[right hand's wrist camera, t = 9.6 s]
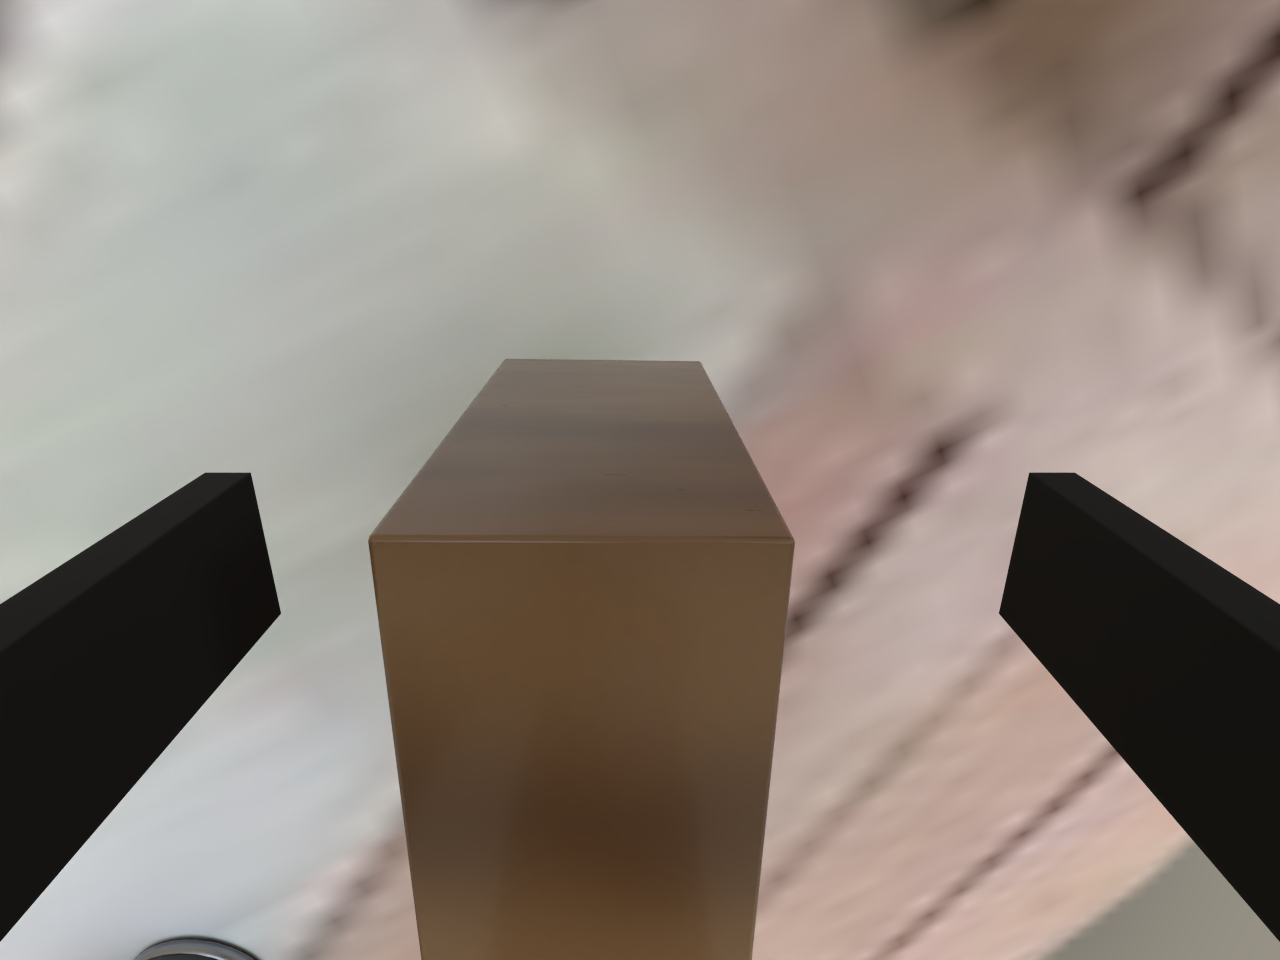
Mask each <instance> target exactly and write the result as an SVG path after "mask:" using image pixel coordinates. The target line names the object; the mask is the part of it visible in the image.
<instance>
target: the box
mask: <svg viewBox="0 0 1280 960" xmlns="http://www.w3.org/2000/svg"><path fill="white" fill-rule="evenodd" d="M368 542H369V550H370V558H371V566H372V574H373V581H374V589H375V597H376V605H377V613H378V621H379V629H380V637H381V644H382V652H383V660H384V668H385V676H386V684H387V692H388V699H389V707H390V715H391V723H392V731H393V739H394V747H395V755H396V762H397V770H398V778H399V786H400V794H401V802H402V810H403V817H404V825H405V833H406V841H407V849H408V857H409V865H410V873H411V880H412V888H413V896H414V904H415V912H416V920H417V928H418V935H419V943H420V951H421V959H422V960H752V951H753V941H754V932H755V922H756V912H757V903H758V893H759V884H760V874H761V864H762V855H763V845H764V835H765V826H766V816H767V806H768V797H769V787H770V777H771V768H772V758H773V749H774V739H775V729H776V720H777V710H778V700H779V691H780V681H781V671H782V662H783V652H784V642H785V633H786V623H787V614H788V604H789V594H790V585H791V575H792V565H793V556H794V546H795V542H794V539H793V537H792V535H791V533H790V531H789V529H788V527H787V525H786V523H785V521H784V520H783V518H782V516H781V514H780V512H779V510H778V508H777V506H776V504H775V503H774V501H773V499H772V497H771V495H770V493H769V491H768V489H767V487H766V485H765V484H764V482H763V480H762V478H761V476H760V474H759V472H758V470H757V468H756V466H755V465H754V463H753V461H752V459H751V457H750V455H749V453H748V451H747V449H746V448H745V446H744V444H743V442H742V440H741V438H740V436H739V434H738V432H737V430H736V429H735V427H734V425H733V423H732V421H731V419H730V417H729V415H728V413H727V411H726V410H725V408H724V406H723V404H722V402H721V400H720V398H719V396H718V394H717V393H716V391H715V389H714V387H713V385H712V383H711V381H710V379H709V377H708V375H707V374H706V372H705V370H704V368H703V366H702V364H701V362H699V361H626V360H547V359H506V360H504V361H503V363H502V364H501V365H500V367H499V368H498V369H497V371H496V372H495V373H494V375H493V376H492V377H491V378H490V380H489V381H488V382H487V384H486V385H485V386H484V388H483V389H482V390H481V391H480V393H479V394H478V395H477V397H476V398H475V399H474V401H473V402H472V403H471V405H470V406H469V407H468V408H467V410H466V411H465V412H464V414H463V415H462V416H461V418H460V419H459V420H458V422H457V423H456V424H455V425H454V427H453V428H452V429H451V431H450V432H449V433H448V435H447V436H446V437H445V438H444V440H443V441H442V442H441V444H440V445H439V446H438V448H437V449H436V450H435V452H434V453H433V454H432V455H431V457H430V458H429V459H428V461H427V462H426V463H425V465H424V466H423V467H422V469H421V470H420V471H419V472H418V474H417V475H416V476H415V478H414V479H413V480H412V482H411V483H410V484H409V485H408V487H407V488H406V489H405V491H404V492H403V493H402V495H401V496H400V497H399V499H398V500H397V501H396V502H395V504H394V505H393V506H392V508H391V509H390V510H389V512H388V513H387V514H386V516H385V517H384V518H383V519H382V521H381V522H380V523H379V525H378V526H377V527H376V529H375V530H374V531H373V532H372V534H371V535H370V537H369V540H368Z"/></svg>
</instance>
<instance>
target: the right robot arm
mask: <svg viewBox="0 0 1280 960" xmlns="http://www.w3.org/2000/svg"><path fill="white" fill-rule="evenodd" d="M280 614H281V611H280V607H279V602H278V597H277V593H276V588H275V583H274V579H273V574H272V569H271V565H270V560H269V556H268V551H267V546H266V542H265V537H264V532H263V528H262V523H261V518H260V514H259V509H258V504H257V500H256V495H255V491H254V486H253V481H252V477H251V473H204V474H203V475H201V476H199V477H198V478H196V479H195V480H193V481H192V482H190V483H189V484H187V485H185V486H184V487H182V488H181V489H179V490H178V491H176V492H175V493H173V494H171V495H170V496H168V497H167V498H165V499H164V500H162V501H160V502H159V503H157V504H156V505H154V506H153V507H151V508H150V509H148V510H146V511H145V512H143V513H142V514H140V515H139V516H137V517H136V518H134V519H132V520H131V521H129V522H128V523H126V524H125V525H123V526H122V527H120V528H118V529H117V530H115V531H114V532H112V533H111V534H109V535H108V536H106V537H104V538H103V539H101V540H100V541H98V542H97V543H95V544H94V545H92V546H90V547H89V548H87V549H86V550H84V551H83V552H81V553H80V554H78V555H76V556H75V557H73V558H72V559H70V560H69V561H67V562H65V563H64V564H62V565H61V566H59V567H58V568H56V569H55V570H53V571H51V572H50V573H48V574H47V575H45V576H44V577H42V578H41V579H39V580H37V581H36V582H34V583H33V584H31V585H30V586H28V587H27V588H25V589H23V590H22V591H20V592H19V593H17V594H16V595H14V596H13V597H11V598H9V599H8V600H6V601H5V602H3V603H2V604H0V941H1V940H2V939H3V938H4V937H5V936H6V934H7V933H8V932H9V931H10V930H11V929H12V927H13V926H14V925H15V924H16V923H17V922H18V920H19V919H20V918H21V917H22V916H23V914H24V913H25V912H26V911H27V910H28V909H29V907H30V906H31V905H32V904H33V903H34V902H35V900H36V899H37V898H38V897H39V896H40V895H41V893H42V892H43V891H44V890H45V889H46V888H47V886H48V885H49V884H50V883H51V882H52V881H53V879H54V878H55V877H56V876H57V875H58V874H59V872H60V871H61V870H62V869H63V868H64V867H65V865H66V864H67V863H68V862H69V861H70V860H71V858H72V857H73V856H74V855H75V854H76V853H77V851H78V850H79V849H80V848H81V847H82V846H83V844H84V843H85V842H86V841H87V840H88V838H89V837H90V836H91V835H92V834H93V833H94V831H95V830H96V829H97V828H98V827H99V826H100V824H101V823H102V822H103V821H104V820H105V819H106V817H107V816H108V815H109V814H110V813H111V812H112V810H113V809H114V808H115V807H116V806H117V805H118V803H119V802H120V801H121V800H122V799H123V798H124V796H125V795H126V794H127V793H128V792H129V791H130V789H131V788H132V787H133V786H134V785H135V784H136V782H137V781H138V780H139V779H140V778H141V777H142V775H143V774H144V773H145V772H146V771H147V770H148V768H149V767H150V766H151V765H152V764H153V762H154V761H155V760H156V759H157V758H158V757H159V755H160V754H161V753H162V752H163V751H164V750H165V748H166V747H167V746H168V745H169V744H170V743H171V741H172V740H173V739H174V738H175V737H176V736H177V734H178V733H179V732H180V731H181V730H182V729H183V727H184V726H185V725H186V724H187V723H188V722H189V720H190V719H191V718H192V717H193V716H194V715H195V713H196V712H197V711H198V710H199V709H200V708H201V706H202V705H203V704H204V703H205V702H206V701H207V699H208V698H209V697H210V696H211V695H212V694H213V692H214V691H215V690H216V689H217V688H218V686H219V685H220V684H221V683H222V682H223V681H224V679H225V678H226V677H227V676H228V675H229V674H230V672H231V671H232V670H233V669H234V668H235V667H236V665H237V664H238V663H239V662H240V661H241V660H242V658H243V657H244V656H245V655H246V654H247V653H248V651H249V650H250V649H251V648H252V647H253V646H254V644H255V643H256V642H257V641H258V640H259V639H260V637H261V636H262V635H263V634H264V633H265V632H266V630H267V629H268V628H269V627H270V626H271V625H272V623H273V622H274V621H275V620H276V619H277V617H278V616H279V615H280ZM999 614H1000V615H1001V616H1002V617H1003V619H1004V620H1005V621H1006V622H1007V623H1008V625H1009V626H1010V627H1011V628H1012V629H1013V630H1014V632H1015V633H1016V634H1017V635H1018V636H1019V637H1020V639H1021V640H1022V641H1023V642H1024V643H1025V644H1026V646H1027V647H1028V648H1029V649H1030V650H1031V651H1032V653H1033V654H1034V655H1035V656H1036V657H1037V658H1038V660H1039V661H1040V662H1041V663H1042V664H1043V665H1044V667H1045V668H1046V669H1047V670H1048V671H1049V672H1050V674H1051V675H1052V676H1053V677H1054V678H1055V679H1056V681H1057V682H1058V683H1059V684H1060V685H1061V686H1062V688H1063V689H1064V690H1065V691H1066V692H1067V694H1068V695H1069V696H1070V697H1071V698H1072V699H1073V701H1074V702H1075V703H1076V704H1077V705H1078V706H1079V708H1080V709H1081V710H1082V711H1083V712H1084V713H1085V715H1086V716H1087V717H1088V718H1089V719H1090V720H1091V722H1092V723H1093V724H1094V725H1095V726H1096V727H1097V729H1098V730H1099V731H1100V732H1101V733H1102V734H1103V736H1104V737H1105V738H1106V739H1107V740H1108V741H1109V743H1110V744H1111V745H1112V746H1113V747H1114V748H1115V750H1116V751H1117V752H1118V753H1119V754H1120V755H1121V757H1122V758H1123V759H1124V760H1125V761H1126V762H1127V764H1128V765H1129V766H1130V767H1131V768H1132V770H1133V771H1134V772H1135V773H1136V774H1137V775H1138V777H1139V778H1140V779H1141V780H1142V781H1143V782H1144V784H1145V785H1146V786H1147V787H1148V788H1149V789H1150V791H1151V792H1152V793H1153V794H1154V795H1155V796H1156V798H1157V799H1158V800H1159V801H1160V802H1161V803H1162V805H1163V806H1164V807H1165V808H1166V809H1167V810H1168V812H1169V813H1170V814H1171V815H1172V816H1173V817H1174V819H1175V820H1176V821H1177V822H1178V823H1179V824H1180V826H1181V827H1182V828H1183V829H1184V830H1185V831H1186V833H1187V834H1188V835H1189V836H1190V837H1191V838H1192V840H1193V841H1194V842H1195V843H1196V844H1197V846H1198V847H1199V848H1200V849H1201V850H1202V851H1203V852H1204V854H1205V855H1206V856H1207V857H1208V858H1209V860H1210V861H1211V862H1212V863H1213V864H1214V865H1215V867H1216V868H1217V869H1218V870H1219V871H1220V872H1221V874H1222V875H1223V876H1224V877H1225V878H1226V879H1227V881H1228V882H1229V883H1230V884H1231V885H1232V886H1233V888H1234V889H1235V890H1236V891H1237V892H1238V893H1239V895H1240V896H1241V897H1242V898H1243V899H1244V900H1245V902H1246V903H1247V904H1248V905H1249V906H1250V907H1251V909H1252V910H1253V911H1254V912H1255V913H1256V914H1257V916H1258V917H1259V918H1260V919H1261V920H1262V922H1263V923H1264V924H1265V925H1266V926H1267V927H1268V929H1269V930H1270V931H1271V932H1272V933H1273V934H1274V935H1275V937H1276V938H1277V939H1278V940H1279V941H1280V604H1278V603H1277V602H1275V601H1274V600H1272V599H1271V598H1269V597H1267V596H1266V595H1264V594H1263V593H1261V592H1260V591H1258V590H1257V589H1255V588H1253V587H1252V586H1250V585H1249V584H1247V583H1246V582H1244V581H1243V580H1241V579H1239V578H1238V577H1236V576H1235V575H1233V574H1232V573H1230V572H1229V571H1227V570H1225V569H1224V568H1222V567H1221V566H1219V565H1218V564H1216V563H1215V562H1213V561H1211V560H1210V559H1208V558H1207V557H1205V556H1204V555H1202V554H1200V553H1199V552H1197V551H1196V550H1194V549H1193V548H1191V547H1190V546H1188V545H1186V544H1185V543H1183V542H1182V541H1180V540H1179V539H1177V538H1176V537H1174V536H1172V535H1171V534H1169V533H1168V532H1166V531H1165V530H1163V529H1162V528H1160V527H1158V526H1157V525H1155V524H1154V523H1152V522H1151V521H1149V520H1148V519H1146V518H1144V517H1143V516H1141V515H1140V514H1138V513H1137V512H1135V511H1134V510H1132V509H1130V508H1129V507H1127V506H1126V505H1124V504H1123V503H1121V502H1120V501H1118V500H1116V499H1115V498H1113V497H1112V496H1110V495H1109V494H1107V493H1105V492H1104V491H1102V490H1101V489H1099V488H1098V487H1096V486H1095V485H1093V484H1091V483H1090V482H1088V481H1087V480H1085V479H1084V478H1082V477H1081V476H1079V475H1077V474H1076V473H1029V477H1028V481H1027V486H1026V491H1025V495H1024V500H1023V504H1022V509H1021V514H1020V518H1019V523H1018V528H1017V532H1016V537H1015V542H1014V546H1013V551H1012V556H1011V560H1010V565H1009V569H1008V574H1007V579H1006V583H1005V588H1004V593H1003V597H1002V602H1001V607H1000V611H999Z"/></svg>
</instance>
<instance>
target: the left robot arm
mask: <svg viewBox="0 0 1280 960" xmlns="http://www.w3.org/2000/svg"><path fill="white" fill-rule="evenodd" d="M134 960H254V959H253V958H251V957H250V956H248V955H246V954H245V953H243V952H241V951H239V950H237V949H234V948H232V947H229V946H226V945H223V944H219V943H216V942H211V941H204V940H193V939H184V940H174V941H168V942H164V943H160V944H157V945H155V946H152V947H150V948H148V949H146V950H145V951H143V952H142V953H140V954H139V955H138V956H137V957H136V958H135V959H134Z"/></svg>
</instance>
